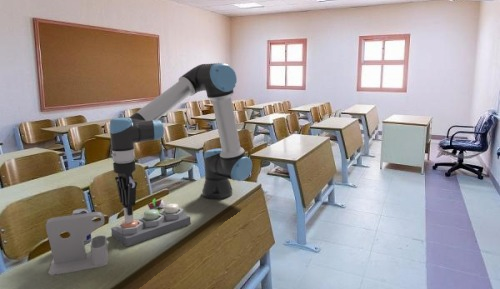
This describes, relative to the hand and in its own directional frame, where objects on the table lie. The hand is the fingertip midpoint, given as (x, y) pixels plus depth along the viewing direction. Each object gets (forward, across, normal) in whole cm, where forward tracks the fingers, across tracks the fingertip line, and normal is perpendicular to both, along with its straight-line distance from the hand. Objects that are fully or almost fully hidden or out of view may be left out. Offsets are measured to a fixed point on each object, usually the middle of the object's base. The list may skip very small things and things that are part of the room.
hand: (129, 222), depth 134 cm
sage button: (+1, 0, +9) cm, 9 cm away
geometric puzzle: (+6, -14, +19) cm, 25 cm away
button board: (+6, 0, +9) cm, 11 cm away
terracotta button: (+3, 0, 0) cm, 3 cm away
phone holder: (+6, +6, -20) cm, 22 cm away
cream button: (+1, 0, +18) cm, 18 cm away
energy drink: (+6, -9, -14) cm, 18 cm away
